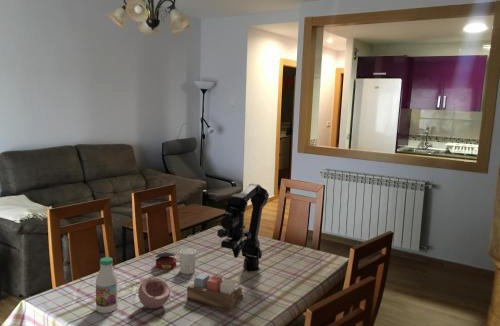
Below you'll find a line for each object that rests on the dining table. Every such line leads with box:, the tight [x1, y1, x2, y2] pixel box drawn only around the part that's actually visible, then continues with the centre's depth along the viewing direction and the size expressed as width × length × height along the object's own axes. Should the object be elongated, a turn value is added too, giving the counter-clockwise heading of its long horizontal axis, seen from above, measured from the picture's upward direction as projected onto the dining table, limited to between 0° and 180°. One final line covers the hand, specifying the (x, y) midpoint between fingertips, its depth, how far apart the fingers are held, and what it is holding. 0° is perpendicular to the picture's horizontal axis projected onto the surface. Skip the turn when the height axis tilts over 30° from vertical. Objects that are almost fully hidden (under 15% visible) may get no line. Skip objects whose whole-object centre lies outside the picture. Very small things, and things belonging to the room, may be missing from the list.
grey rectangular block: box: [193, 272, 210, 289], centre depth 165 cm, size 5×4×8 cm
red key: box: [207, 275, 223, 292], centre depth 163 cm, size 5×4×8 cm
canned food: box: [155, 252, 177, 271], centre depth 196 cm, size 11×10×10 cm
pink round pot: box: [137, 277, 171, 309], centre depth 156 cm, size 12×12×12 cm
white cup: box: [179, 247, 197, 275], centre depth 191 cm, size 8×8×10 cm
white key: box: [220, 278, 236, 295], centre depth 161 cm, size 5×4×8 cm
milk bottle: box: [95, 256, 118, 314], centre depth 153 cm, size 8×8×20 cm
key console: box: [186, 282, 244, 313], centre depth 164 cm, size 12×19×6 cm, turn 66°
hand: (235, 257), depth 179 cm, fingers closed
